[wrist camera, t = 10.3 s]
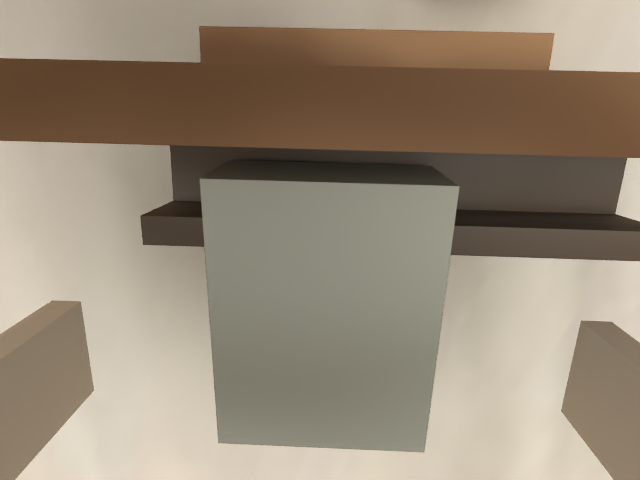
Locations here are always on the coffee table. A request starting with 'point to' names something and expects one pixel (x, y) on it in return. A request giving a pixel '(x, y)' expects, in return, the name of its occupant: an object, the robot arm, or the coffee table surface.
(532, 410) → the coffee table surface
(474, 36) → the brown wooden rack
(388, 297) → the grey-green box
